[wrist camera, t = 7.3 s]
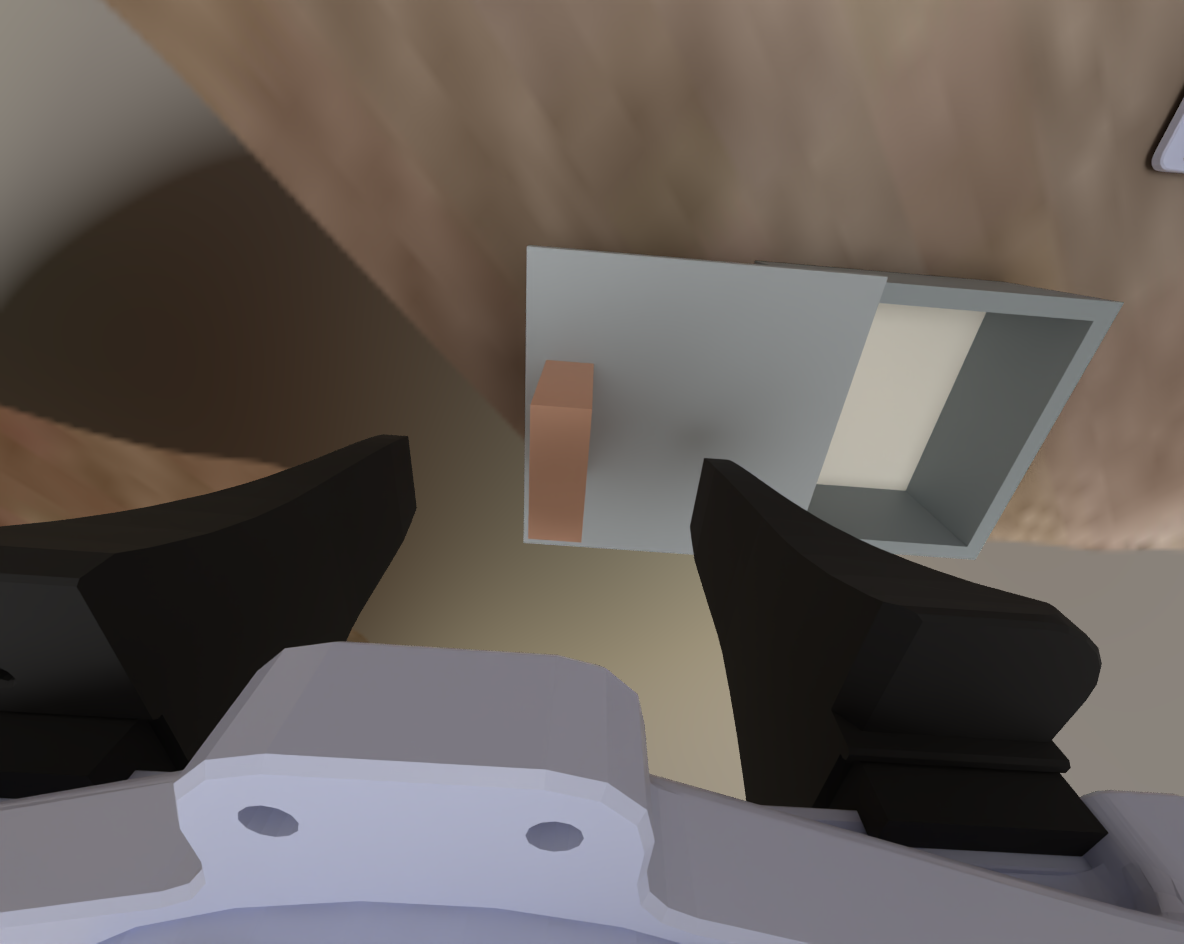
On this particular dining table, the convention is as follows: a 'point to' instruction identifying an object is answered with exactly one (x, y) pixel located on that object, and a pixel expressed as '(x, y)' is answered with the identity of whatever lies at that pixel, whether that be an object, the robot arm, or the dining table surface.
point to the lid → (676, 386)
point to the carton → (951, 407)
